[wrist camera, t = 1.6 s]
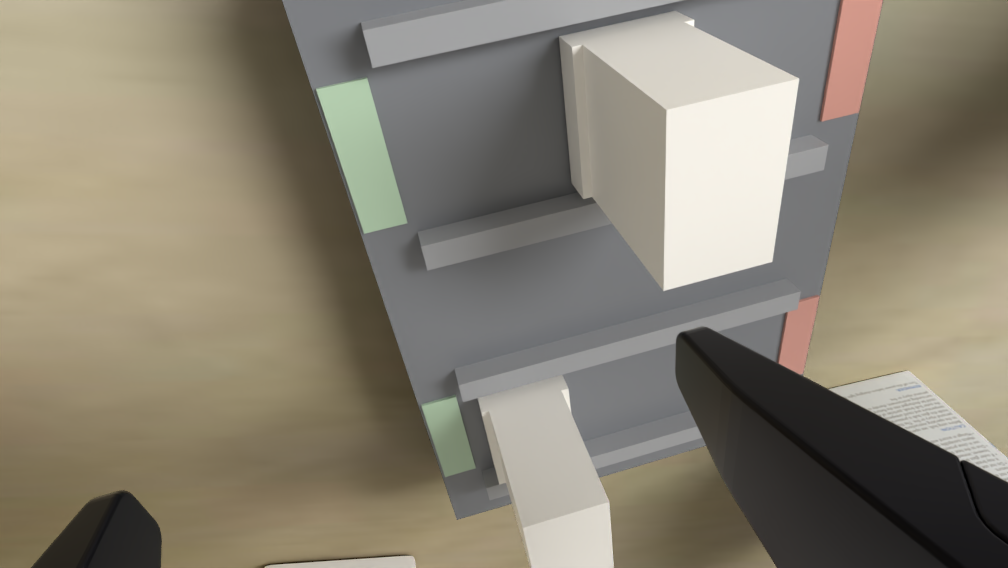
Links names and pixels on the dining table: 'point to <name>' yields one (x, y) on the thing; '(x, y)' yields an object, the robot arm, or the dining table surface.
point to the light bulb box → (925, 417)
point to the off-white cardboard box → (356, 563)
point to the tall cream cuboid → (548, 476)
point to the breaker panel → (557, 211)
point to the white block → (679, 143)
